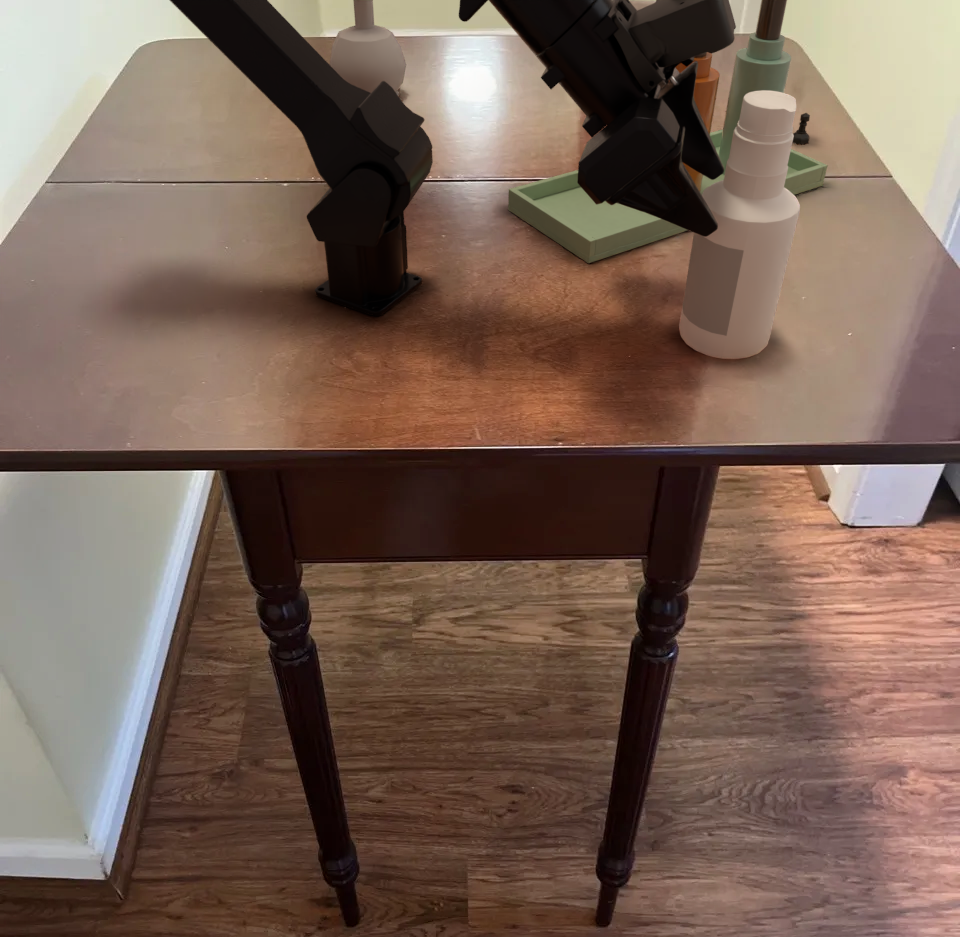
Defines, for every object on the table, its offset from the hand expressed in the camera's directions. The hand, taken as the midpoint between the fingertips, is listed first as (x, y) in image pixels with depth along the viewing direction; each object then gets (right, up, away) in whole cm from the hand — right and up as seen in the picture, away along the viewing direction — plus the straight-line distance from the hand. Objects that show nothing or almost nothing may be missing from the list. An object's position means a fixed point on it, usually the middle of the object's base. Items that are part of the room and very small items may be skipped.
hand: (715, 202), depth 67 cm
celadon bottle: (+10, +11, +29) cm, 32 cm away
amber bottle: (+2, +8, +25) cm, 26 cm away
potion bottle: (-29, +25, +46) cm, 60 cm away
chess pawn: (+18, +16, +36) cm, 43 cm away
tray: (+2, +7, +25) cm, 26 cm away
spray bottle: (+2, -9, +7) cm, 11 cm away
